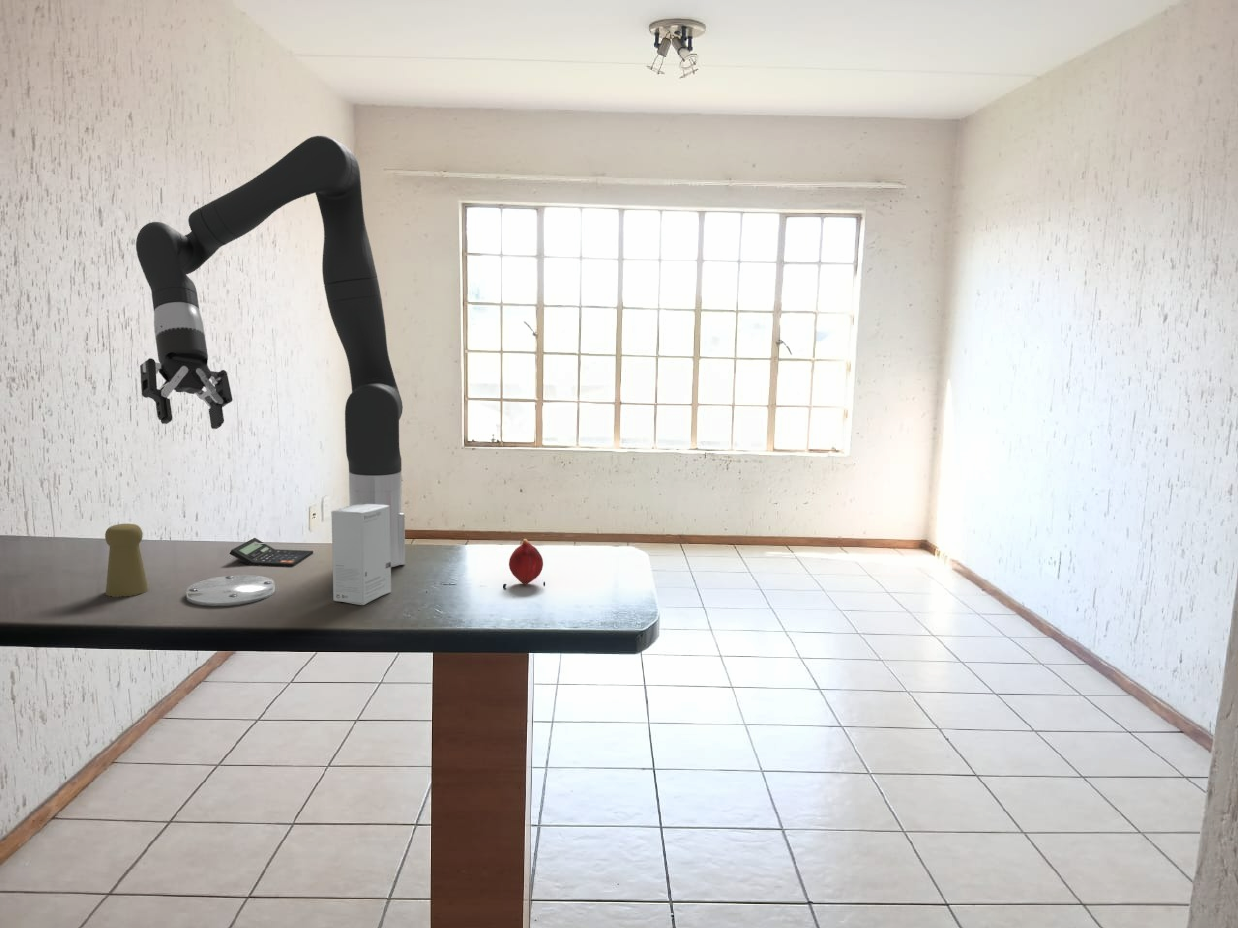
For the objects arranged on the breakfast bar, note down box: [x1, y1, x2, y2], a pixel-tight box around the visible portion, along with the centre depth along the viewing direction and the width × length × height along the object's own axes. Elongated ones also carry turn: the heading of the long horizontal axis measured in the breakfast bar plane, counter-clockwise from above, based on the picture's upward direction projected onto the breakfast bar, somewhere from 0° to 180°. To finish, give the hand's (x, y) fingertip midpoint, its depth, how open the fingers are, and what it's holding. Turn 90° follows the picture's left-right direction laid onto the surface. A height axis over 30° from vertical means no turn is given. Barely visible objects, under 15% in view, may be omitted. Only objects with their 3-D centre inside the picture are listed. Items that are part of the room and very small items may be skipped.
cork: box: [104, 523, 149, 598], centre depth 139 cm, size 6×6×11 cm
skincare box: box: [330, 504, 392, 606], centre depth 140 cm, size 8×6×15 cm
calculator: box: [229, 537, 314, 568], centre depth 161 cm, size 9×12×3 cm
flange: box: [185, 574, 276, 607], centre depth 140 cm, size 13×13×1 cm
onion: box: [508, 538, 544, 586], centre depth 150 cm, size 6×6×8 cm
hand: (192, 424), depth 143 cm, fingers open, 8 cm apart
